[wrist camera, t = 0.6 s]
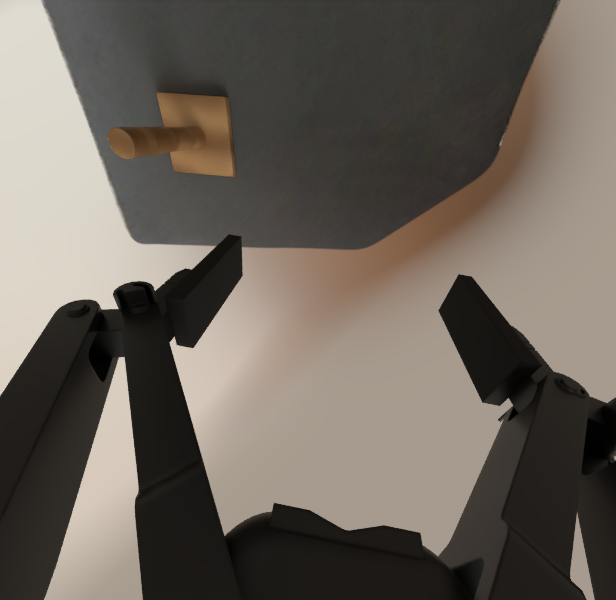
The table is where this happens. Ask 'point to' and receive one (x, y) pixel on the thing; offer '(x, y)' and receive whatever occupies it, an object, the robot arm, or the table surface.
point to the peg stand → (184, 135)
